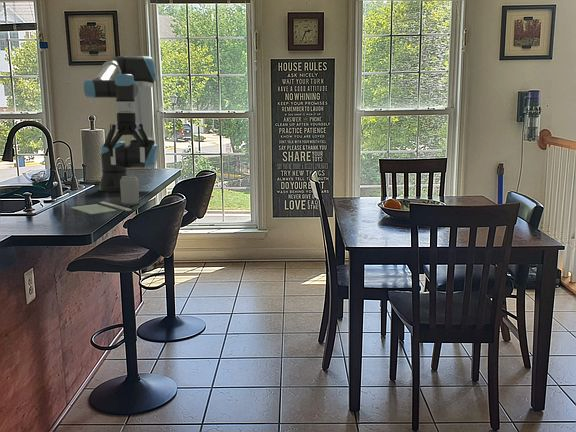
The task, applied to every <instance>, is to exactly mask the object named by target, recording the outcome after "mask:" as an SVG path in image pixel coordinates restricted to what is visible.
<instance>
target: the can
mask: <svg viewBox="0 0 576 432" xmlns="http://www.w3.org/2000/svg"><path fill="white" fill-rule="evenodd" d="M139 187H140V186H139V179H138V177H137V176H136V175H128V176H122V179H121V180H120V188H121V191H120V203H121V204H122V205H124V206H134V205H135V206H136V205H138V204H139V203H140V194H139V193H140V191H139V189H140V188H139Z"/></svg>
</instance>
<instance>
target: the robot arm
mask: <svg viewBox="0 0 576 432" xmlns="http://www.w3.org/2000/svg"><path fill="white" fill-rule="evenodd" d="M157 77H158V75H157V69H156V64H155V60H154V58H153V57H152V56H147V55H129V56H128V55H120V56H115V57H112V58H110V59H108V60H107V61H105V62H104V63H103V64H101V67H100V71H99V73H98V74H97V75H96V76H95V78H94V79H85V80H84V82H83V93H84V96H85V97H87V98H91V99H92V98H93V99H95V98H96V99H100V98H101V99H107V98H108V99H109V98H111V99H115V102H116V103H115V104H116V105H115V107H116V110H115V111H116V112H117V113H116V122H117V124H112V123H111V124H110V125H109V131H108V134H107V136H106V139H105V141H104V143H103V144H102V145H101V146H100V157H101V158H100V159H101V177H100V181H99V185H98V186H99V187H98V189H99V192H108V193H109V192H110V193H111V192H112V193H113V192H114V193H115V192H121V188H120V180H121V179H122V176H129V175H128V171H127V169H152V168H155V166H156V165H157V161H158V155H159V154H158V153H159V145H158V144H157V143H156V142H155V141H156V140H154V138H153V137H152V99H151V98H152V97H151V96H152V95H151V94H152V93H151V89H152V88H153V86H154V85H155V84H154V83H155V82H156V81H157V80H158V78H157ZM116 130H117V132H116ZM115 133H116V134H115ZM114 135H115V136H114ZM128 135H129V136H132V137H131V138H130V140H129V143H127V142H126V141H125V140H122V141H119V140H120V139H121V137H122V136H128Z"/></svg>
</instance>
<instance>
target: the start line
mask: <svg viewBox="0 0 576 432" xmlns="http://www.w3.org/2000/svg"><path fill="white" fill-rule="evenodd" d="M99 204H102V205H103V206H108V207H110V208H111V207H112V208H114V209H115V208H116V209H118V210H122V211H125V212H130V211H132V210H133V209H131V208H128V207H125V206H121V205H118V204H115V203H114V204H113V203H110V202H108V201H107V202H106V201H99Z"/></svg>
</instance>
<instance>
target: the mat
mask: <svg viewBox="0 0 576 432" xmlns="http://www.w3.org/2000/svg"><path fill="white" fill-rule="evenodd" d="M70 209H73V210H75V211H78V212H82V213H85V214H88V215H96V214H97V215H98V214H104V213H112V212H117V211H118V210H117V209H115V208H111V207H109V206H108V207H107V206H106V205H100V204H97V203H95V204H93V203H92V204H87V205H79V206H78V205H77V206H71V207H70Z"/></svg>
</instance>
